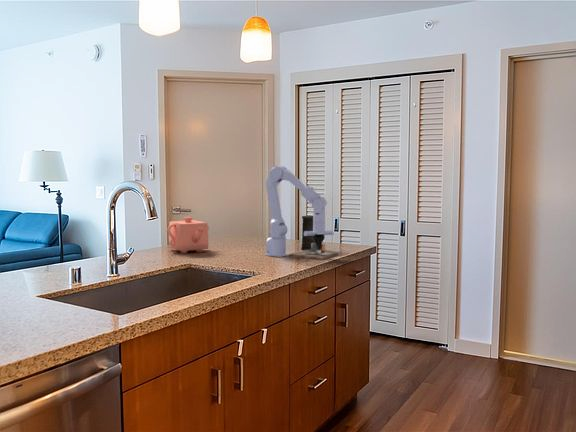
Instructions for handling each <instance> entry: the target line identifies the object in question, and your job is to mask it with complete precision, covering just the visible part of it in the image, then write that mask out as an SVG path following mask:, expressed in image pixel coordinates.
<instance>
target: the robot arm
mask: <svg viewBox="0 0 576 432" xmlns="http://www.w3.org/2000/svg"><path fill="white" fill-rule="evenodd" d="M265 181H266V182H265V188H266V189H265V190H266V195H267V198H268V199H267V200H268V206H269V212H270V218H271V219H270V223H269V225H270V229H269V234H270V236H269V237H268V238H267V239H266V242H265V254H264V256H269V257H277V258H282V257H286V256H289V254H290V253H286V251H287V250H286V249H287V248H286V247H287V243H286V242H287V239H286V238H287V237H286V235H287V233H288V227H287V224H286V223H285V220H284V218H283V216H282V209H281V204H280V197H279V191H278V186H279V184H280V183H281V182H282V181H287V182H290V183H291V184H292V185H293V186H294V187H295V188H296V189H298V190H299V191H300V195H301V196H302V197H303V198H304V199H305V200H307V201H308V203H310V204H311V206H312V208H313V214H312V216H313V231H304V236H312V235H313V238H314V240H315V242H316V246H317V250H319V251H320V248H321V244H323V242H324V240H325V237H326V236H334V230H326V206H327V205H328V203H327V202H328V201H327V200H326V198H325V197H324V196H322V195H321V194H320V193H317V191H315V190H314V187H312V186H310V185H307V186H306V185H305V184H304V183H303V182H302V181H301V180H300V179H299V178H298V177H297V176H296V175H295V174H294V173H293V172H292V171H291V170H290V169H288V168H287V167H285V166H273V167H272V168H271V169H270V170H269V171H268V177H267V179H266V180H265Z"/></svg>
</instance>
